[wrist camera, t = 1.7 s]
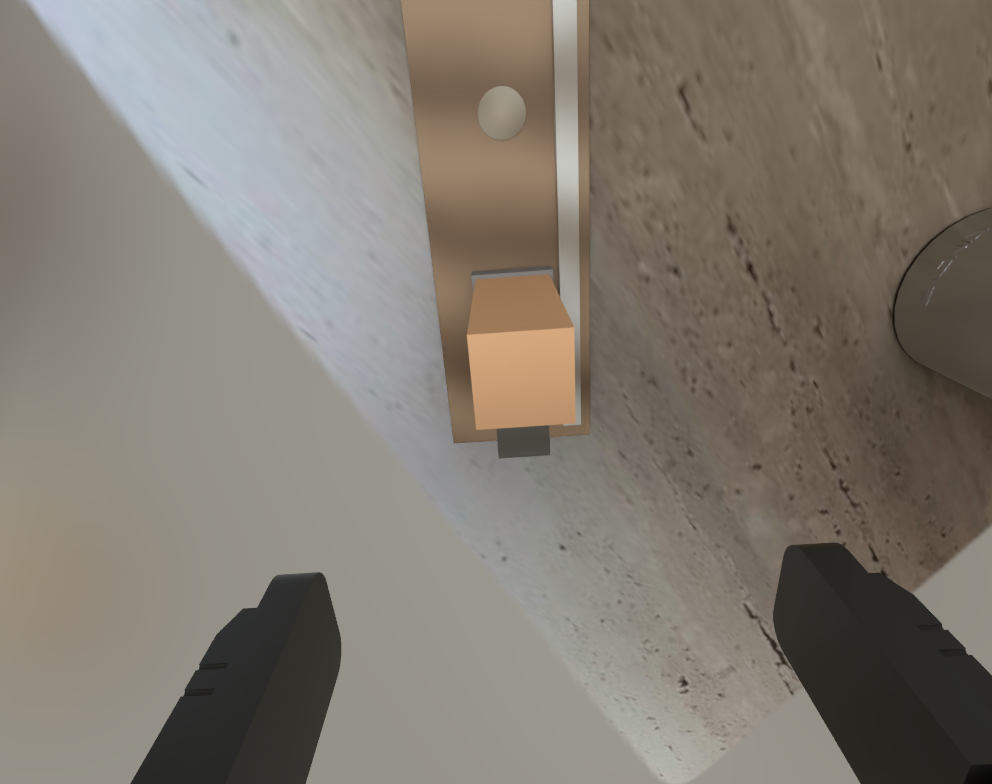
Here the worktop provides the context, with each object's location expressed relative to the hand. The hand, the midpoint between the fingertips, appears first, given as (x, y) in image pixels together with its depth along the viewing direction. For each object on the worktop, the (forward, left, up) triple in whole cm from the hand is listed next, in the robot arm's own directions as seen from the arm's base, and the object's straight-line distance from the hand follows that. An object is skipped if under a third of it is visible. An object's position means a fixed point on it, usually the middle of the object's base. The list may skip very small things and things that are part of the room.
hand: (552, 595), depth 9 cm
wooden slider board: (+2, -3, -22) cm, 22 cm away
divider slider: (0, 0, -20) cm, 20 cm away
